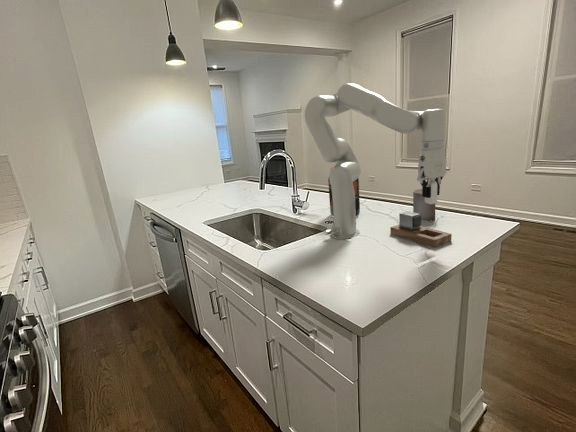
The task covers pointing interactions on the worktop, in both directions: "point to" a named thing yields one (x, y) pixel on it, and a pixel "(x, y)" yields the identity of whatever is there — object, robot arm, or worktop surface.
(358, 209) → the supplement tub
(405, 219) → the block
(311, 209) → the worktop surface
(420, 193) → the pillar candle
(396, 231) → the wooden tray
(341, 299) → the worktop surface
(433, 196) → the eye dropper bottle
